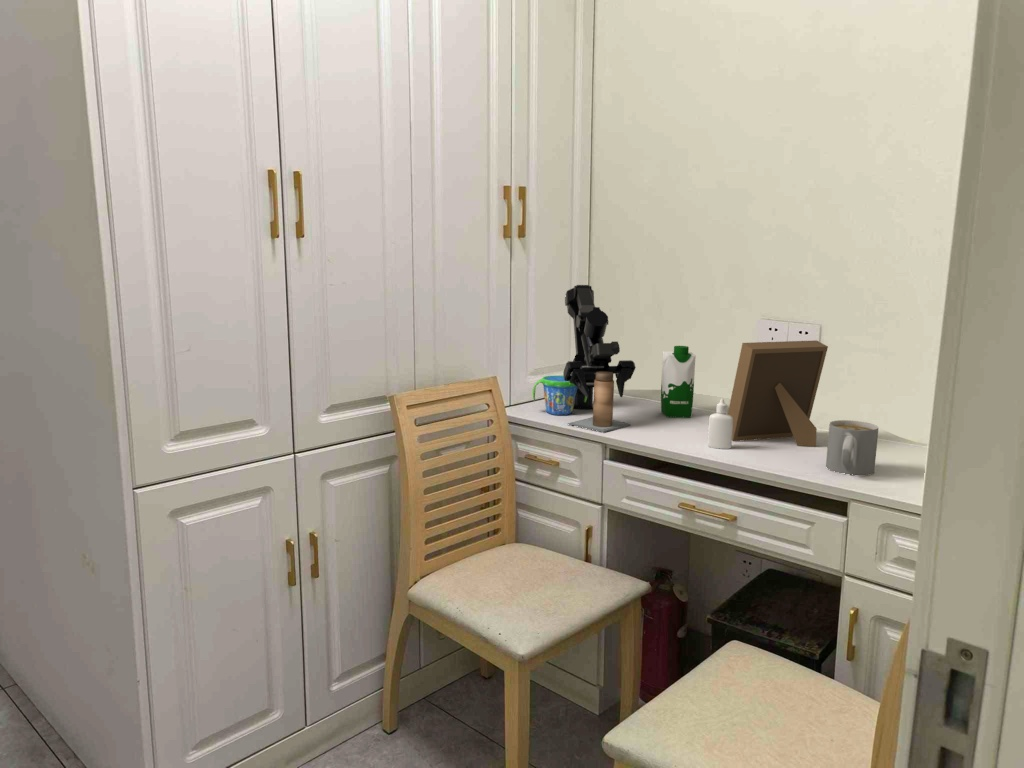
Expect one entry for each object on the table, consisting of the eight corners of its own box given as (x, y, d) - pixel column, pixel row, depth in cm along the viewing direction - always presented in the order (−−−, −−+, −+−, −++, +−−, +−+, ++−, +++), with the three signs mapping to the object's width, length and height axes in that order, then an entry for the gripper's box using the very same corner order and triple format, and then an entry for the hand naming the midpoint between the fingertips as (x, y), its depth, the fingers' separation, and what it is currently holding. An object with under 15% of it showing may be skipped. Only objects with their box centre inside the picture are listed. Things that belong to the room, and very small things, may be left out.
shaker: (596, 421, 219) (598, 370, 216) (614, 424, 217) (617, 372, 214) (590, 425, 214) (592, 373, 212) (608, 427, 212) (611, 375, 210)
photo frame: (723, 437, 206) (729, 340, 202) (794, 431, 213) (802, 337, 209) (758, 452, 193) (765, 347, 188) (833, 445, 199) (842, 345, 195)
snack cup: (586, 410, 236) (588, 375, 235) (586, 418, 226) (587, 382, 224) (533, 408, 238) (534, 374, 236) (530, 416, 228) (531, 380, 226)
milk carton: (664, 418, 227) (667, 347, 224) (657, 411, 236) (660, 343, 232) (695, 418, 227) (699, 347, 224) (687, 411, 236) (690, 343, 233)
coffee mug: (835, 460, 186) (839, 418, 184) (880, 469, 180) (884, 425, 178) (812, 472, 176) (816, 427, 174) (859, 482, 170) (864, 435, 168)
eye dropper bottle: (714, 443, 200) (717, 395, 198) (734, 448, 196) (737, 399, 194) (704, 446, 197) (707, 398, 195) (724, 451, 193) (727, 401, 191)
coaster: (567, 425, 217) (567, 422, 217) (594, 418, 226) (594, 416, 226) (603, 432, 209) (603, 430, 209) (630, 425, 218) (630, 423, 218)
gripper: (567, 331, 213) (577, 379, 204) (634, 330, 216) (647, 378, 208) (559, 356, 222) (568, 404, 213) (624, 355, 225) (635, 402, 217)
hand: (605, 396), depth 212 cm, fingers open, 9 cm apart
